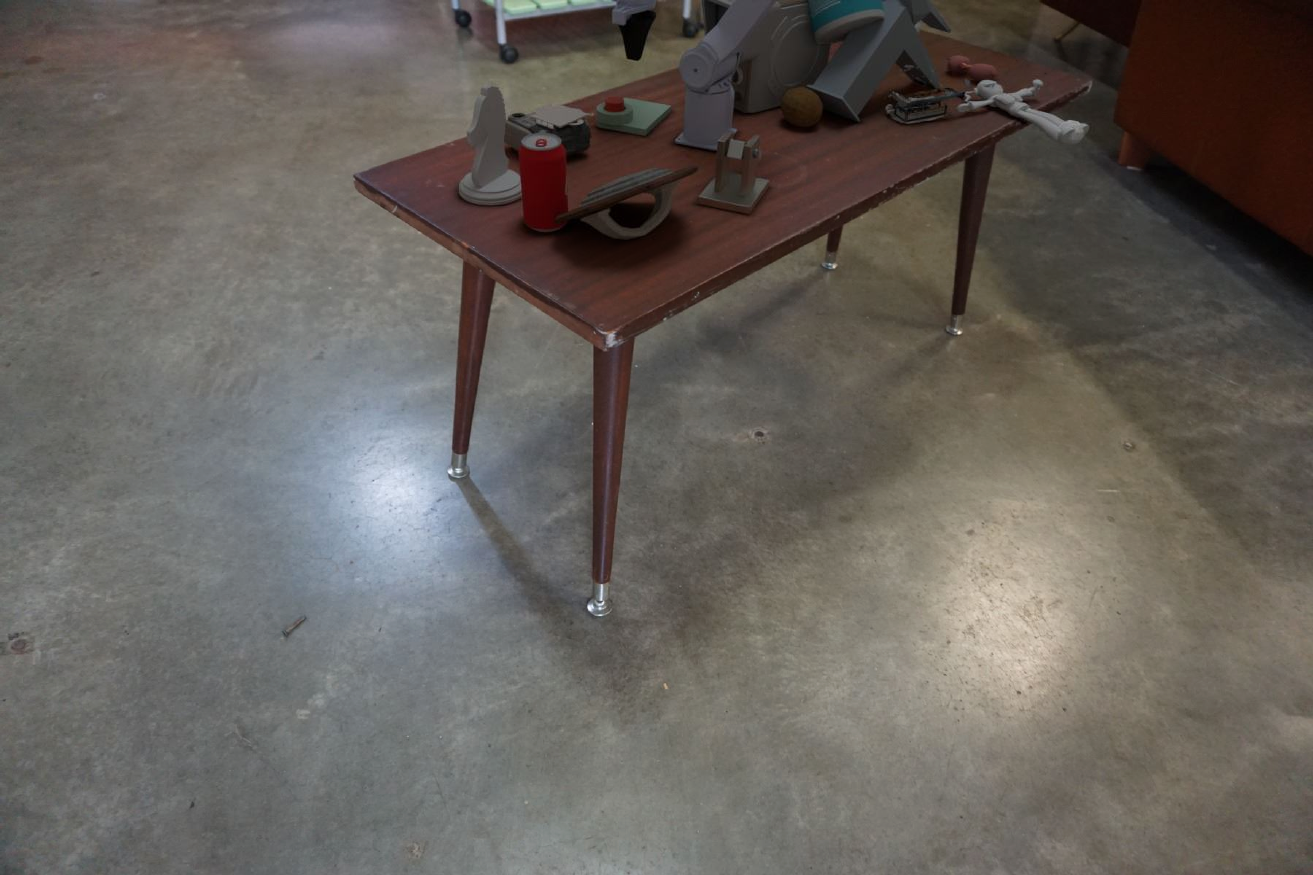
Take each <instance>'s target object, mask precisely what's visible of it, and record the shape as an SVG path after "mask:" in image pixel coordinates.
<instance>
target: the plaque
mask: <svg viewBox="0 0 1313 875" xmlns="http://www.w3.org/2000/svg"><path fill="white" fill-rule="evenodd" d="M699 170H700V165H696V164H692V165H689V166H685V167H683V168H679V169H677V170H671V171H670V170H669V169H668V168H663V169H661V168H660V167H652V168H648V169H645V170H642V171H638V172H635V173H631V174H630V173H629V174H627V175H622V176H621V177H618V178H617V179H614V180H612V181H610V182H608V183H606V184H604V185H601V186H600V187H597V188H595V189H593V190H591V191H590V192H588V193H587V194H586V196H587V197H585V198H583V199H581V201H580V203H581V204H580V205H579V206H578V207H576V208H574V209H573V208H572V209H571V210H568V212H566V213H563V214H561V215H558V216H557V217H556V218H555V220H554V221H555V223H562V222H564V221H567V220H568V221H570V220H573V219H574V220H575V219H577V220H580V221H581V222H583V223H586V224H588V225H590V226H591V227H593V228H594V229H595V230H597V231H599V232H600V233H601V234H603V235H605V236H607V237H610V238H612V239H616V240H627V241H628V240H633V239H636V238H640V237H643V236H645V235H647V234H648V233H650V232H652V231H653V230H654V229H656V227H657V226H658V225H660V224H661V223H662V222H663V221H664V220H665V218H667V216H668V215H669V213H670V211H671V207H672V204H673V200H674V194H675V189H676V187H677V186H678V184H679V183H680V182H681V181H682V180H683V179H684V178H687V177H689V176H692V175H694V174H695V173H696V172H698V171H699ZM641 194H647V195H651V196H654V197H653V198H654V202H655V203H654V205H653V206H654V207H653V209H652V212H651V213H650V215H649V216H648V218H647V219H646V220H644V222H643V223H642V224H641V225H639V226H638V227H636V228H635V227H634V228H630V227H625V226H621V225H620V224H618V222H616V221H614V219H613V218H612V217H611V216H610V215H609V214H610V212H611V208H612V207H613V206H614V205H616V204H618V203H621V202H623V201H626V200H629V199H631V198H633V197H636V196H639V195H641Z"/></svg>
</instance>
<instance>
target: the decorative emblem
mask: <svg viewBox="0 0 1313 875" xmlns="http://www.w3.org/2000/svg"><path fill="white" fill-rule="evenodd" d="M541 110H542V111H541ZM535 112H536V114H533V115H531V116H530V118H533V119H535V120H536V124H539V125H542V126H545V127H548V128H550V129H553V126H556V127H559V128H561V127H564V126H566V125H580V124H582V123H583V122H584V121H583V120H582V118H584V119H586V118H587V117H594V116H595V113H593V112H589V113H587V112H584V111H583V110H582V109H580V108H572V107H568V106H566V105H564V104H563V105H562V104H560V103H558V104H555V105H553V102H551V103H548V104H546V105H544V106H541V107H538V108H536V109H535ZM575 121H577V123H573V122H575ZM547 124H548V126H547Z"/></svg>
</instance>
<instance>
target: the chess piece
mask: <svg viewBox="0 0 1313 875" xmlns="http://www.w3.org/2000/svg"><path fill="white" fill-rule="evenodd" d="M499 88H500V87H499V86H495V85H491V84H487V83H485V84H484V85H481V87H480V94H479V95H477V97H476V98H475V99H476V100H475V102H474V107H473V112H472V113H473V115H472V118H471V123H470V125H469V128H468V129H467V130H466V141H467V143H466V144H467V145H468V147H470V148H472V149H475V150H476V152H475V154H474V159H473V163H472V165H471V171H470V172H467V173H466V175H464V176H463V178H462V179H461V180H460V182H459V183H458V184H459V185H458V193H459V196H460V197H461V198H462V199H463V200H464V201H466V202H468V203H471V204H475V205H479V206H502V205H507V204H511V203H514V202H516V201H518V200H520V199H522V191H521V179H520V174H519V173H518V172H516V171H514V170H512V169H509V163H510V159H509V158H508V157H507V154H506V150H505V143H504V135H505V125H506V123H505V121H506V120H507V117H506V116H507V114H506V104H505V102H504V101H505V100H504V97H503V93H502V92H501V90H500V89H499Z"/></svg>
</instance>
